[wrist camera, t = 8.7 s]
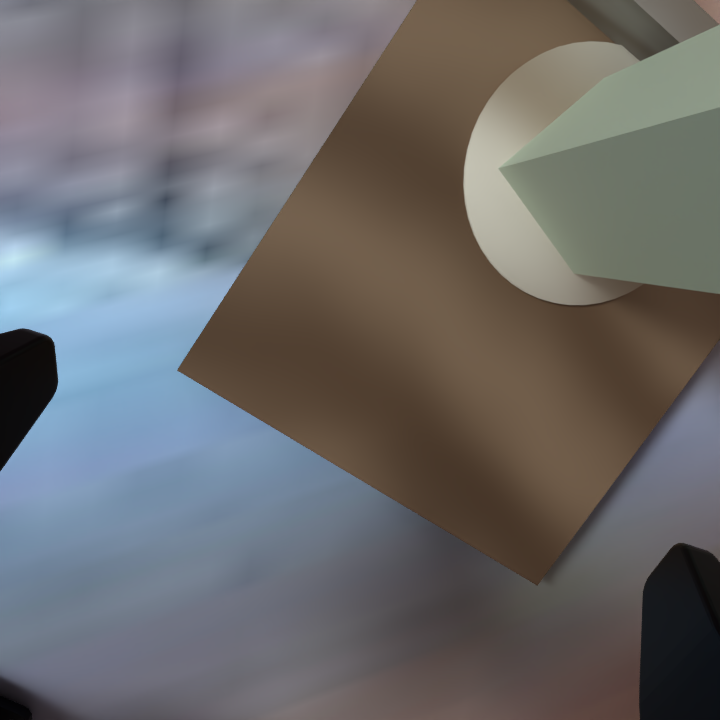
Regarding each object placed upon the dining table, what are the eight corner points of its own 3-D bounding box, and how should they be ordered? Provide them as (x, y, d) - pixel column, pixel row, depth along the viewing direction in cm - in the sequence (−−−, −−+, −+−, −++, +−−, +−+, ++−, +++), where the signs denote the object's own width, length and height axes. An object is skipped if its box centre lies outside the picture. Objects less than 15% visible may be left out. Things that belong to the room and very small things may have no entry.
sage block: (574, 273, 19) (946, 325, 9) (498, 168, 18) (810, 81, 8) (674, 188, 19) (1177, 134, 9) (603, 78, 18) (1069, -137, 8)
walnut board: (523, 567, 23) (563, 620, 20) (182, 362, 20) (166, 386, 16) (799, 191, 21) (889, 185, 18) (478, -95, 18) (521, -163, 15)
